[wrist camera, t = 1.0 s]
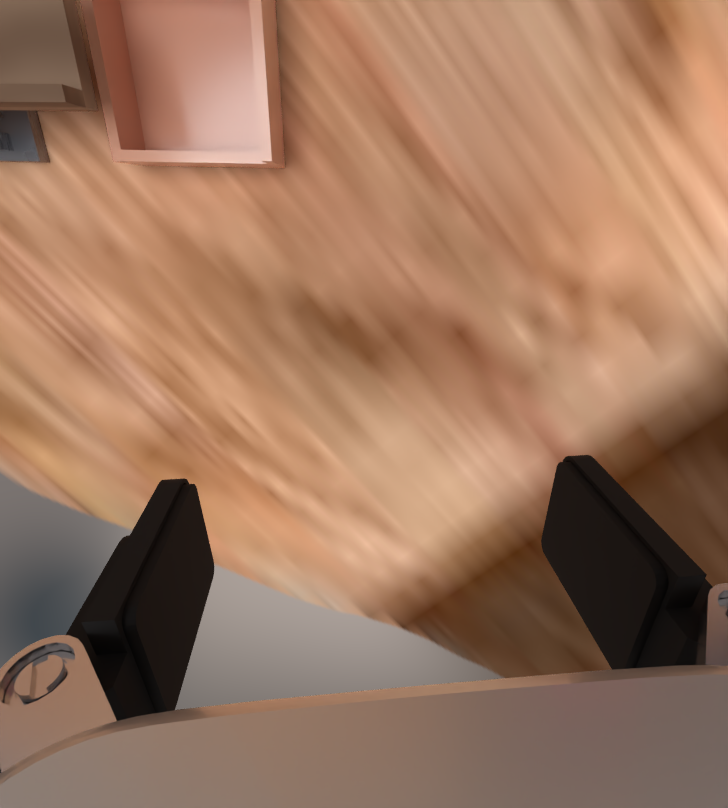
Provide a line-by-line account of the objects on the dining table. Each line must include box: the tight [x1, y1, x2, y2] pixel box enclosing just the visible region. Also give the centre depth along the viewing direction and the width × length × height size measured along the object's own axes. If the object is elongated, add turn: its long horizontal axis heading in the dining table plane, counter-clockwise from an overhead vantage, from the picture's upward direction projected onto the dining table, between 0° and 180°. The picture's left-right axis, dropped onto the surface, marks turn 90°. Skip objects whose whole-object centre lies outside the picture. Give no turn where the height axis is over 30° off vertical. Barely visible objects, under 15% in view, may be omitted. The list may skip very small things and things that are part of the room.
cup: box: [80, 0, 285, 168], centre depth 26 cm, size 10×10×9 cm
